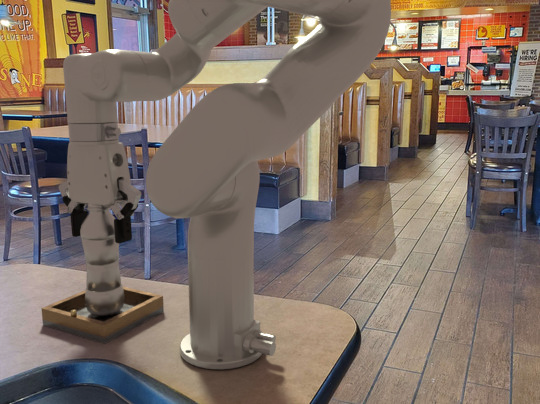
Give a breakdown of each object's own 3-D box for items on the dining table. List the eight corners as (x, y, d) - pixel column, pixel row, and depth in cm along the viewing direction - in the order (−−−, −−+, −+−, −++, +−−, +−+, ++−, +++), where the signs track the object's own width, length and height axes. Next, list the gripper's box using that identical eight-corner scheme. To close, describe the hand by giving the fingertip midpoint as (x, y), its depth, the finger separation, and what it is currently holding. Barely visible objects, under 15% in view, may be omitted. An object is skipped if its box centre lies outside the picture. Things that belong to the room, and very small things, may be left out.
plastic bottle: (130, 305, 94) (124, 194, 91) (118, 321, 88) (111, 202, 84) (93, 305, 95) (86, 194, 91) (79, 321, 88) (70, 202, 84)
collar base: (163, 311, 94) (162, 291, 94) (104, 343, 82) (103, 320, 82) (105, 297, 101) (104, 278, 100) (42, 325, 89) (41, 303, 88)
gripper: (151, 133, 84) (157, 238, 88) (74, 132, 93) (82, 228, 96) (117, 137, 78) (125, 250, 81) (37, 134, 86) (47, 237, 89)
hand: (101, 238), depth 89 cm, fingers open, 9 cm apart
